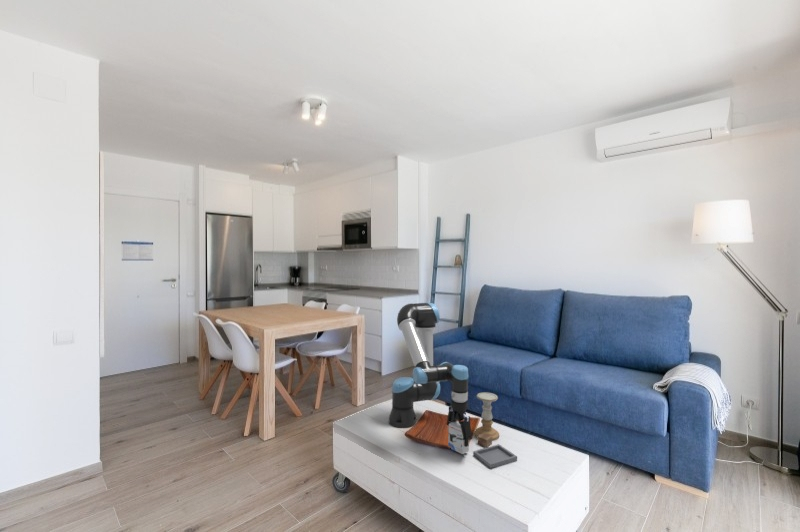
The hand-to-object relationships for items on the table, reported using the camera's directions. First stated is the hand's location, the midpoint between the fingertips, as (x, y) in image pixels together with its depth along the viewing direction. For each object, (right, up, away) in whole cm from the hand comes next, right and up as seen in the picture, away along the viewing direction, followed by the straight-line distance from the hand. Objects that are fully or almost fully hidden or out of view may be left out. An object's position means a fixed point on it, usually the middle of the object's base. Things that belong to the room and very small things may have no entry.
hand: (458, 446), depth 173 cm
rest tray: (+16, -3, -5) cm, 17 cm away
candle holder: (+17, -2, +17) cm, 24 cm away
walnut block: (+14, -3, +8) cm, 16 cm away
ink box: (0, -1, 0) cm, 1 cm away
